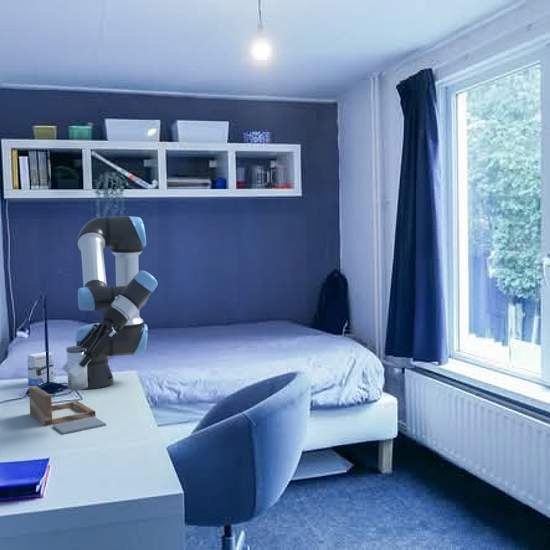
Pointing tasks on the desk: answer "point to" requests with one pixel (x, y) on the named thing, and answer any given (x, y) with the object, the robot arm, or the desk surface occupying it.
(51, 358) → the ink box
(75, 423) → the felt pad
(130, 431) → the desk surface
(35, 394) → the frame
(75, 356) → the canister
